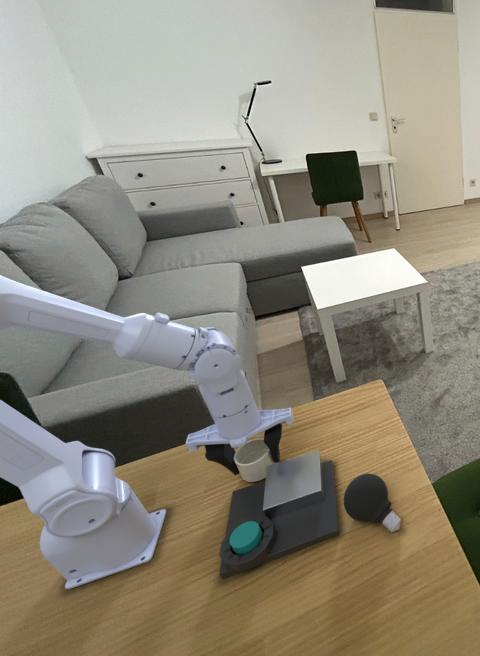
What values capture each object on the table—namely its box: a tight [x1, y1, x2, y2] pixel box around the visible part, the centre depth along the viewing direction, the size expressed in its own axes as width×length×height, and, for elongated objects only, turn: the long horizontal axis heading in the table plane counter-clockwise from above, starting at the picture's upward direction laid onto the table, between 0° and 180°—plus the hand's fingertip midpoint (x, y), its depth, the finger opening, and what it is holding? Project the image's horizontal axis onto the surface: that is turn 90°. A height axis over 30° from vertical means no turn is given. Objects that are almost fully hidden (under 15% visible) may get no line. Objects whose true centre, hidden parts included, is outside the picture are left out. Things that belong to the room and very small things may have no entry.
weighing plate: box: [263, 449, 325, 520], centre depth 62 cm, size 8×8×4 cm
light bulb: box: [343, 473, 402, 534], centre depth 58 cm, size 6×6×10 cm
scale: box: [219, 459, 340, 580], centre depth 59 cm, size 15×14×3 cm
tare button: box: [230, 521, 262, 554], centre depth 53 cm, size 4×4×2 cm
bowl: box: [234, 437, 275, 483], centre depth 65 cm, size 5×5×4 cm
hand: (257, 463), depth 65 cm, fingers closed on bowl, 5 cm apart
